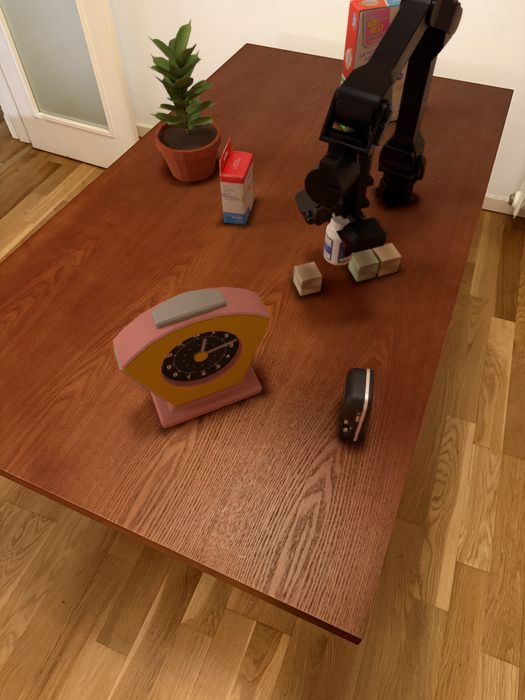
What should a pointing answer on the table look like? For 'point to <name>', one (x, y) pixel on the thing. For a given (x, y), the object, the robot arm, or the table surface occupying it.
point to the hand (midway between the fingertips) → (339, 245)
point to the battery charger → (356, 402)
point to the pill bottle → (335, 242)
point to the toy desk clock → (195, 351)
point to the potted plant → (185, 113)
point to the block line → (351, 268)
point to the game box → (370, 39)
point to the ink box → (236, 185)
